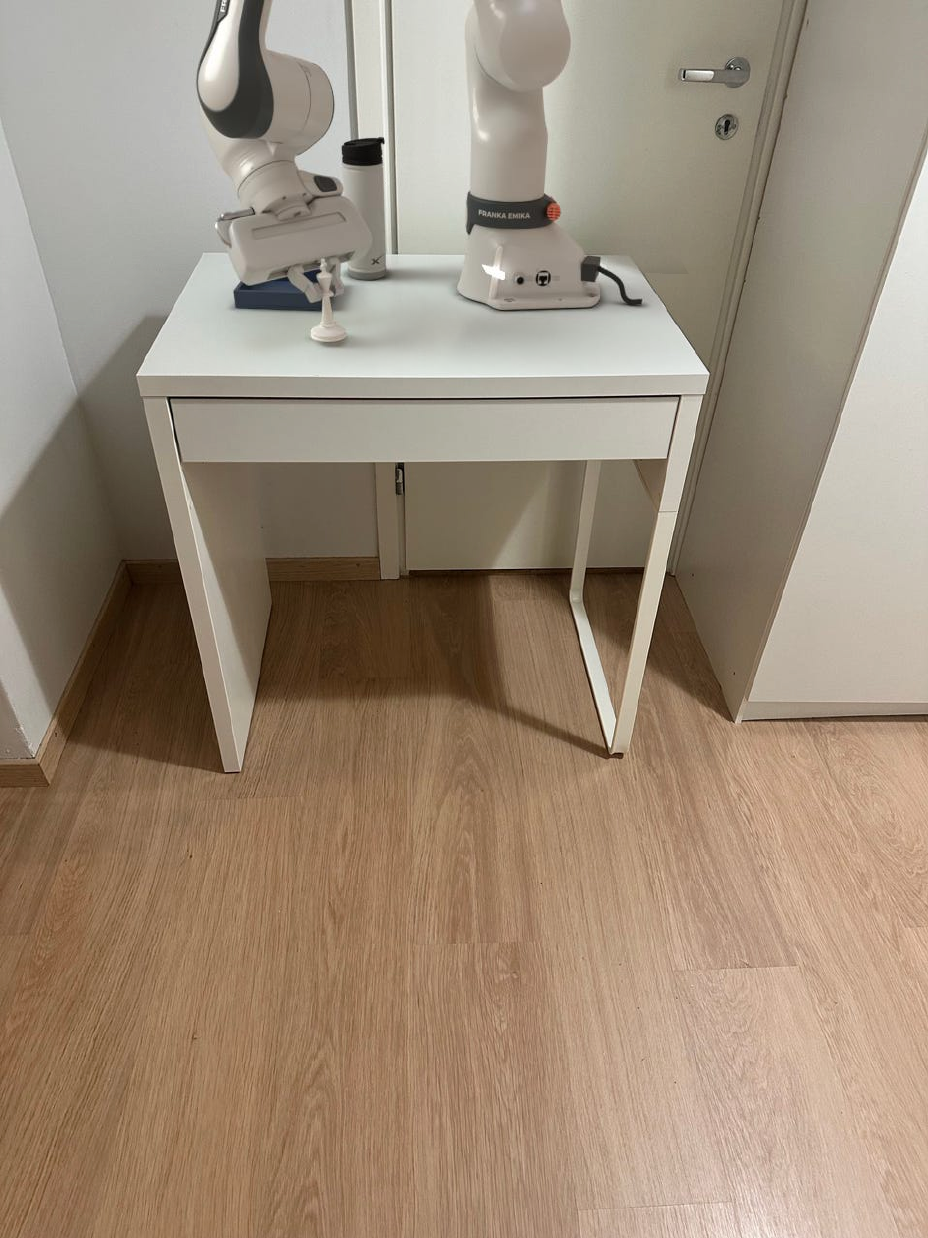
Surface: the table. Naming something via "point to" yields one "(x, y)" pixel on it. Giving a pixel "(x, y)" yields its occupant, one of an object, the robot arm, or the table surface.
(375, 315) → the table surface
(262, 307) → the tray
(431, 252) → the table surface
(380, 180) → the travel mug
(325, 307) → the chess piece
